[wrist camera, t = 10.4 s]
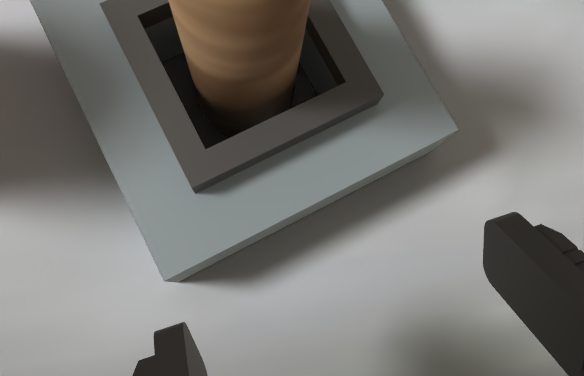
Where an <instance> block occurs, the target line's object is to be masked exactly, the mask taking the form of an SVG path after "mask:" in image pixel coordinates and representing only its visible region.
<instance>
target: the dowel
mask: <svg viewBox="0 0 584 376" xmlns="http://www.w3.org/2000/svg"><path fill="white" fill-rule="evenodd" d="M168 1H169V4H170V7H171V11H172V14H173V17H174V20H175V24H176V27H177V30H178V34H179V37H180V40H181V43H182V47H183V50H184V53H185V57H186V60H187V63H188V66H189V70H190V73H191V76H192V80H193V83H194V86H195V89H196V93H197V96H198V99H199V103H200V106H201V109H202V111H203V113H204V115H205V117H206V118H207V120H208V121H209V122H210V123H211V124H212V125H213V126H214V127H215V128H216V129H218V130H219V131H221V132H222V133H224V134H226V135H229V136H232V137H233V136H235V135H237V134H239V133H241V132H243V131H245V130H247V129H249V128H251V127H253V126H256V125H258V124H260V123H262V122H264V121H266V120H268V119H270V118H272V117H274V116H276V115H278V114H281V113H283V112H285V111H287V110H289V109H290V106H291V102H292V97H293V91H294V86H295V81H296V75H297V70H298V65H299V59H300V54H301V49H302V43H303V38H304V33H305V27H306V22H307V17H308V11H309V6H310V0H168Z"/></svg>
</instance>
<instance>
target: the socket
mask: <svg viewBox="0 0 584 376" xmlns="http://www.w3.org/2000/svg"><path fill="white" fill-rule="evenodd" d="M30 2H31V4H32V6H33V8H34V10H35V12H36V14H37V16H38V18H39V20H40V23H41V25H42V27H43V29H44V31H45V33H46V35H47V37H48V39H49V41H50V44H51V46H52V48H53V50H54V52H55V54H56V56H57V58H58V60H59V62H60V64H61V67H62V69H63V71H64V73H65V75H66V77H67V79H68V81H69V83H70V85H71V87H72V90H73V92H74V94H75V96H76V98H77V100H78V102H79V104H80V106H81V108H82V110H83V113H84V115H85V117H86V119H87V121H88V123H89V125H90V127H91V129H92V131H93V133H94V136H95V138H96V140H97V142H98V144H99V146H100V148H101V150H102V152H103V154H104V157H105V159H106V161H107V163H108V165H109V167H110V169H111V171H112V173H113V175H114V177H115V180H116V182H117V184H118V186H119V188H120V190H121V192H122V194H123V196H124V198H125V200H126V203H127V205H128V207H129V209H130V211H131V213H132V215H133V217H134V219H135V221H136V223H137V226H138V228H139V230H140V232H141V234H142V236H143V238H144V240H145V242H146V244H147V246H148V249H149V251H150V253H151V255H152V257H153V259H154V261H155V263H156V265H157V267H158V269H159V272H160V274H161V276H162V278H163V280H164V281H168V282H179V281H181V280H183V279H185V278H187V277H189V276H191V275H193V274H195V273H197V272H199V271H201V270H203V269H205V268H206V267H208V266H210V265H212V264H214V263H216V262H218V261H220V260H222V259H224V258H226V257H228V256H230V255H232V254H234V253H236V252H237V251H239V250H241V249H243V248H245V247H247V246H249V245H251V244H253V243H255V242H257V241H259V240H261V239H263V238H265V237H267V236H268V235H270V234H272V233H274V232H276V231H278V230H280V229H282V228H284V227H286V226H288V225H290V224H292V223H294V222H296V221H298V220H299V219H301V218H303V217H305V216H307V215H309V214H311V213H313V212H315V211H317V210H319V209H321V208H323V207H325V206H327V205H328V204H330V203H332V202H334V201H336V200H338V199H340V198H342V197H344V196H346V195H348V194H350V193H352V192H354V191H356V190H358V189H359V188H361V187H363V186H365V185H367V184H369V183H371V182H373V181H375V180H377V179H379V178H381V177H383V176H385V175H387V174H389V173H390V172H392V171H394V170H396V169H398V168H400V167H402V166H404V165H406V164H408V163H410V162H412V161H414V160H416V159H418V158H420V157H421V156H423V155H425V154H427V153H429V152H431V151H433V150H434V149H435V148H437V147H438V146H439V145H440V144H442V143H443V142H444V141H445V140H447V139H448V138H449V137H450V136H452V135H453V134H454V133H455V132H457V131H458V130H459V129H458V128H457V126H456V124H455V123H454V121H453V119H452V118H451V116H450V114H449V113H448V111H447V109H446V107H445V106H444V104H443V102H442V101H441V99H440V97H439V96H438V94H437V92H436V91H435V89H434V87H433V86H432V84H431V82H430V81H429V79H428V77H427V76H426V74H425V72H424V70H423V69H422V67H421V65H420V64H419V62H418V60H417V59H416V57H415V55H414V54H413V52H412V50H411V49H410V47H409V45H408V44H407V42H406V40H405V39H404V37H403V35H402V34H401V32H400V30H399V28H398V27H397V25H396V23H395V22H394V20H393V18H392V17H391V15H390V13H389V12H388V10H387V8H386V7H385V5H384V3H383V2H382V0H310V6H309V11H308V17H307V22H306V27H305V33H304V38H303V43H302V49H301V54H300V59H299V62H300V64H301V66H302V68H303V70H304V71H305V73H306V75H307V77H308V79H309V80H310V82H311V84H312V86H313V88H314V89H315V91H316V93H317V95H318V96H316V97H314V98H312V99H310V100H308V101H306V102H303V103H301V104H299V105H297V106H295V107H293V108H291V109H289V110H287V111H285V112H283V113H281V114H278V115H276V116H274V117H272V118H270V119H268V120H266V121H264V122H262V123H260V124H258V125H256V126H253V127H251V128H249V129H247V130H245V131H243V132H241V133H239V134H237V135H235V136H233V137H231V138H228V139H226V140H224V141H222V142H220V143H218V144H216V145H214V146H212V147H210V148H208V149H205V147H204V145H203V143H202V141H201V139H200V137H199V136H198V134H197V132H196V130H195V128H194V126H193V124H192V122H191V120H190V118H189V116H188V114H187V112H186V110H185V108H184V106H183V104H182V102H181V100H180V98H179V96H178V94H177V92H176V91H175V89H174V87H173V85H172V83H171V81H170V79H169V77H168V75H167V73H166V71H165V69H164V67H163V65H162V63H161V62H164V61H166V60H168V59H170V58H173V57H175V56H177V55H179V54H181V53H184V50H183V47H182V43H181V40H180V37H179V34H178V30H177V27H176V24H175V20H174V17H173V14H172V11H171V7H170V4H169V1H168V0H30Z"/></svg>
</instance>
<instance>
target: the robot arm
mask: <svg viewBox="0 0 584 376" xmlns="http://www.w3.org/2000/svg"><path fill="white" fill-rule="evenodd" d="M483 267H484V271H485V274H486V276H487V278H488V280H489V282H490V283H491V285H492V286H493V287H494V288H495V290H496V291H497V292H498V293H499V294H500V295H501V297H502V298H503V299H504V300H505V301H506V302H507V304H508V305H509V306H510V307H511V308H512V310H513V311H514V312H515V313H516V314H517V315H518V317H519V318H520V319H521V320H522V321H523V322H524V324H525V325H526V326H527V327H528V328H529V330H530V331H531V332H532V333H533V334H534V335H535V337H536V338H537V339H538V340H539V341H540V342H541V344H542V345H543V346H544V347H545V348H546V350H547V351H548V352H549V353H550V354H551V355H552V357H553V358H554V359H555V360H556V361H557V362H558V364H559V365H560V366H561V367H562V368H563V369H564V371H565V372H566V373H567V374H568V375H569V376H584V253H583V252H582V251H581V250H578V248H577V246H575V245H574V244H573V243H572V242H571V241H570V240H569V239H567V238H566V237H565V236H564V235H563V234H561V233H559V232H557V231H555V230H553V229H550V228H548V227H546V226H544V225H542V224H540V225H537V226H534V227H533V226H532V225H531V224H530V223H529V222H528V221H527V220H526V219H525V218H524V217H522V216H521V215H520V214H519V213H517V212H512V213H509V214H506V215H503V216H500V217H497V218H494V219H491V220H488V221H486V223H485V226H484V248H483ZM154 349H155V355H154V356H151V357H148V358H145V359H142V360H139V361H138V363H137V366H136V368H135V371H134V373H133V376H208V375H207V371H206V368H205V365H204V362H203V360H202V357H201V355H200V353H199V351H198V349H197V346H196V344H195V342H194V340H193V338H192V335H191V333H190V331H189V329H188V327H187V325H186V323H185V322H182V323H179V324H176V325H173V326H170V327H167V328H164V329H161V330H158V331H155V332H154Z"/></svg>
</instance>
